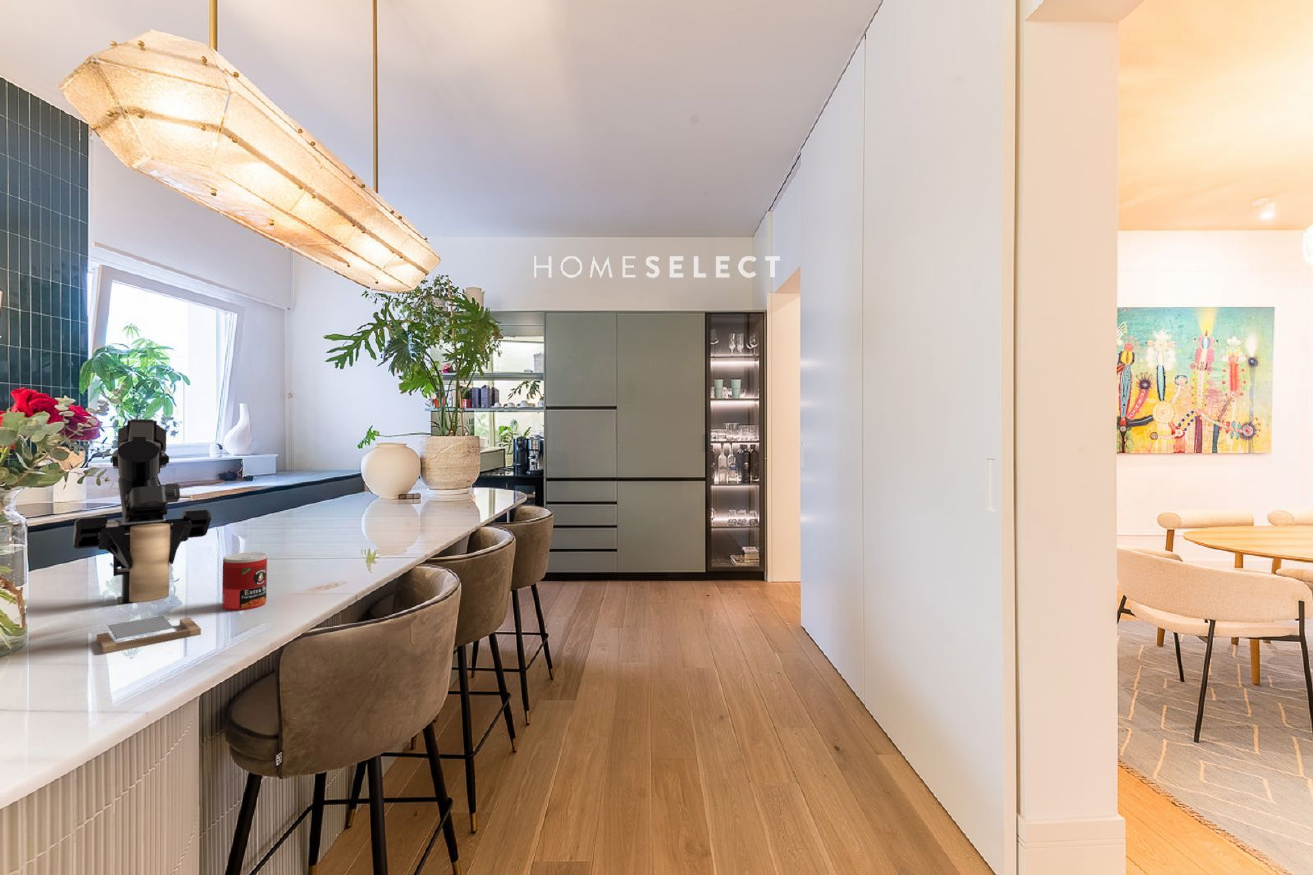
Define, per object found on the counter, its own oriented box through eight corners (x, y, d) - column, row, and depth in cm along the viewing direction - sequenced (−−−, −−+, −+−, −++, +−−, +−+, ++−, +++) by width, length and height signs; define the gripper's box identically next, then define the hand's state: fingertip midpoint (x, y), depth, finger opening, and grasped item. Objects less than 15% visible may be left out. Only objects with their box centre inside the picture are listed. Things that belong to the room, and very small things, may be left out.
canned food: (244, 614, 120) (245, 560, 120) (212, 610, 121) (212, 558, 121) (275, 603, 127) (276, 553, 127) (244, 600, 129) (245, 550, 129)
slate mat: (108, 627, 110) (108, 625, 110) (162, 617, 116) (162, 615, 116) (116, 640, 104) (116, 638, 104) (174, 629, 110) (174, 627, 110)
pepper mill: (126, 597, 105) (127, 525, 104) (165, 592, 109) (166, 522, 109) (131, 604, 101) (133, 529, 101) (171, 598, 105) (173, 526, 105)
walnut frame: (96, 643, 103) (96, 634, 103) (189, 625, 112) (189, 617, 112) (103, 656, 97) (103, 647, 97) (200, 636, 107) (200, 628, 107)
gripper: (75, 471, 100) (82, 544, 93) (209, 467, 114) (224, 531, 107) (70, 512, 105) (76, 584, 98) (198, 503, 119) (212, 566, 112)
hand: (151, 565), depth 104 cm, fingers closed on pepper mill, 5 cm apart
